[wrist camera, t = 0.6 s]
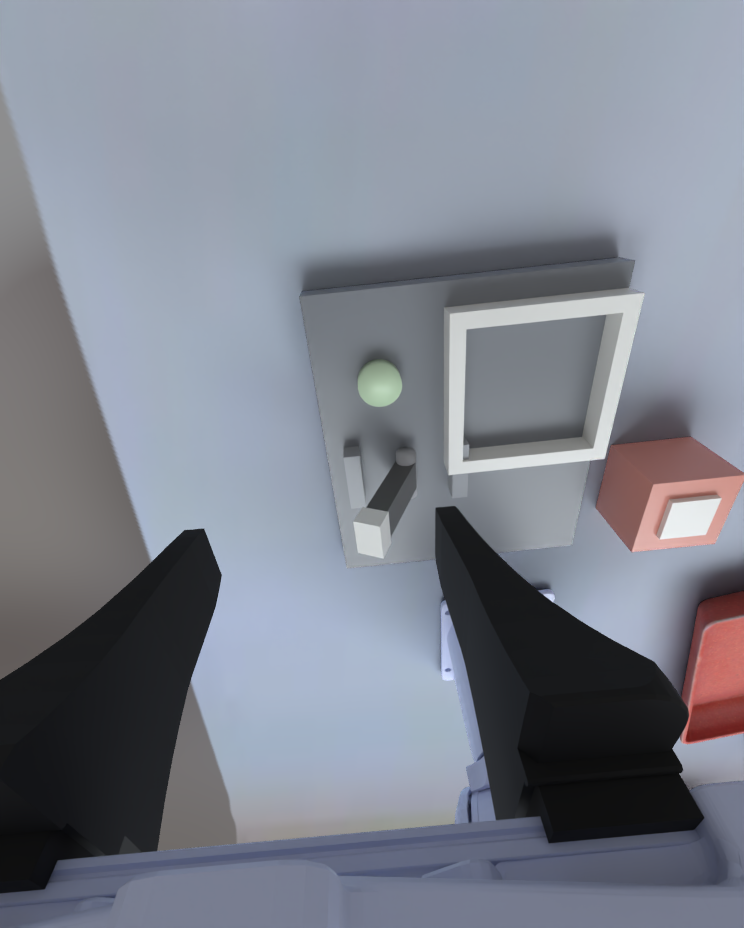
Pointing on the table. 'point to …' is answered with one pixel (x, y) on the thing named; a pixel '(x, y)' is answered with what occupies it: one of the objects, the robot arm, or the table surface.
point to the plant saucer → (716, 671)
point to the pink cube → (667, 493)
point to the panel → (472, 396)
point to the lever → (387, 506)
